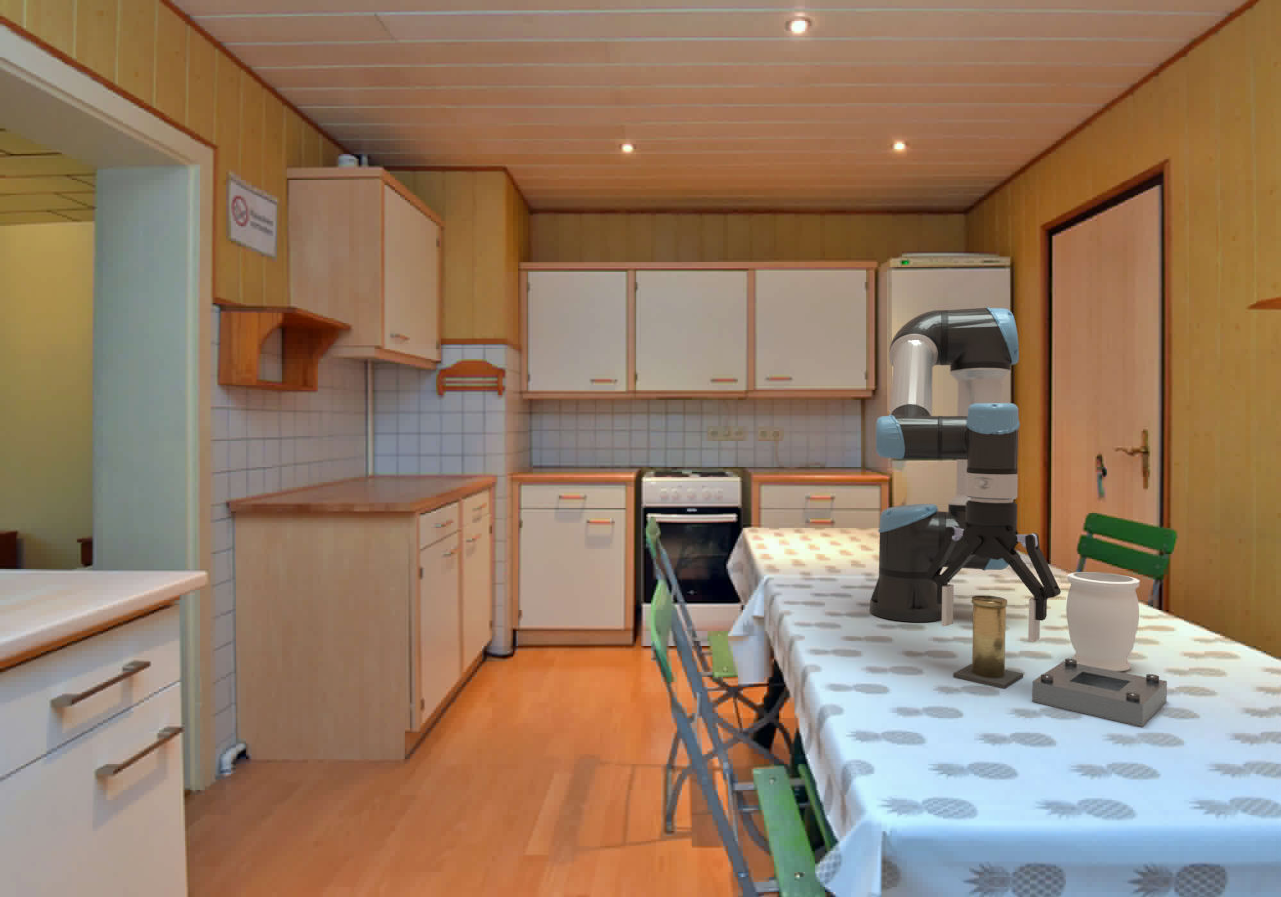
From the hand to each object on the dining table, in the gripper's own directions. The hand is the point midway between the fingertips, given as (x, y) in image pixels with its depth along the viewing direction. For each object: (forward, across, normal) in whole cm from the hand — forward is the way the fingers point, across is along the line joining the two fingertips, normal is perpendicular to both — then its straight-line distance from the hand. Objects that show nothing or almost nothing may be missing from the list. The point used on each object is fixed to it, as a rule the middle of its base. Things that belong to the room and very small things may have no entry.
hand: (989, 632), depth 128 cm
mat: (+7, 0, 0) cm, 7 cm away
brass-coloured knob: (+7, 0, 0) cm, 7 cm away
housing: (+7, +16, 0) cm, 18 cm away
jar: (+8, +11, +20) cm, 24 cm away
